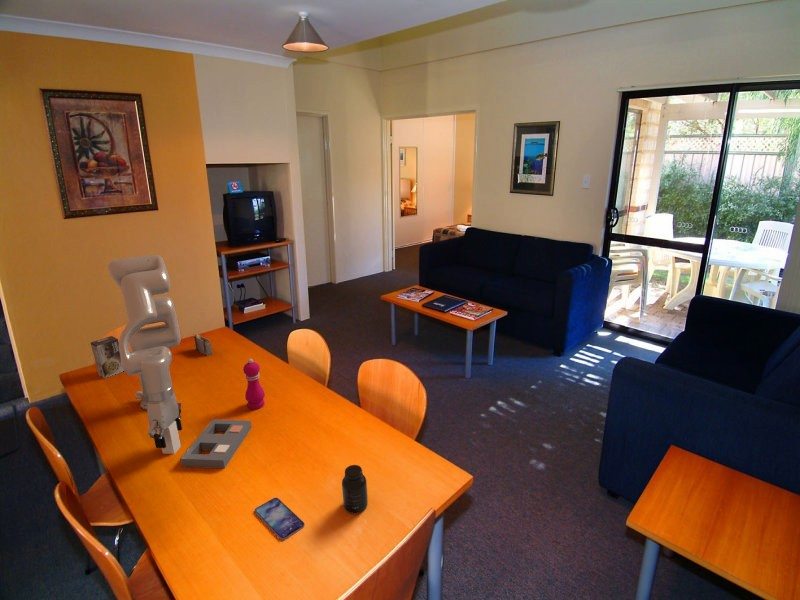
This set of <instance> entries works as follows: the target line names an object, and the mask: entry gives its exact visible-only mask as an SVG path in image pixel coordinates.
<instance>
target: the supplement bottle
mask: <svg viewBox="0 0 800 600" xmlns="http://www.w3.org/2000/svg"><path fill="white" fill-rule="evenodd" d="M341 488H342V489H341V490H342V503H343V508H344V510H345V511H346V512H348V513H350V514H359V513H360V514H361V513H362V512H364V511H365V510H366V509H367V507H368V504H369V503H368V501H369V499H368V483H367V478H366V476H365V475H364V473H363V468H362V467H361V465H357V464H351V465H348V466H347V467H346V468H345V469H344V476H343V478H342V479H341Z"/></svg>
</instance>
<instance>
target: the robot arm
mask: <svg viewBox="0 0 800 600" xmlns="http://www.w3.org/2000/svg"><path fill="white" fill-rule="evenodd" d="M107 270H108V272H109V275H110V276H111V278H112V280H113V281H114V282H115V283H116V285H117V286H118V287H119V289H120V290H121V292H122V297H123V301H124V305H125V309H126V314H127V315H126V316H127V318H128V321H127V324H126V325H125V327H124V328H123V329H122V331H121V333H120V336H119V339H118V342H119V352H120V357H121V362H122V366H123V369H124V373H125V374H126V375H128V376H137V375H138V376H139V382H140V387H141V391H140V390H137V391H136V392H135V399H139V400H141V401H140V408H141V409H143V410H146V411H147V419H148V420H147V421H148V426H149V429H148V431H147V435H148V436H149V438H152V439H153V440H154V445H155V448H156V449H162V448H166V443H165V438H164V437H163V433H164V430H165V429H166V428H167V427H168V426H169V425H170V424H171V423H172V422H173V421H176V425H177V430H178V432H179V431H182V430H183V425H182V420H181V418H182V415H181V414H182V413H181V412H182V409H181V408H182V403H181V402H178V400H177V395H176V394H175V392H174V389H173V388H174V387H173V383H172V378H171V372H170V366H171V363H172V361H173V354H172V351H171V350H170V349H172V348H175V347H178V346H179V345H180V343H181V339H182V337H181V336H182V335H181V331H180V326H179V321H178V316H177V311H176V307H175V304H174V301H173V299H172V298H171V297H169V296H159V297H154V296H156V295H157V296H158V295H163V294H167V293H169V292H170V291H171V288H172V287H171V286H172V285H171V277H170V275H169V271H168V267H167V265H166V263H165V260H164V259H163V257H162V256H161V255H158V254H150V255H149V254H147V255H142V256H132V257H130V256H129V257H124V258H117V259H113V260H111V261H109V263H108V265H107ZM158 323H164V324H158ZM153 324H157V325H153ZM148 325H151V326H148ZM145 326H146V327H145ZM129 347H130V348H129ZM130 349H131V351H130ZM158 426H159V427H160V428H158ZM158 430H160V434H159V433H158Z"/></svg>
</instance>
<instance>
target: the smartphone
mask: <svg viewBox="0 0 800 600" xmlns="http://www.w3.org/2000/svg"><path fill="white" fill-rule="evenodd" d="M254 513H255V515H257V517H258V518H259V519H260V520H261V521H262V522H263V523H264V524H265V525H266V526H267V528H269V530H270V531H271V532H273V534H274V535H275V536H276V537H277V538H278V539H279V540H280V541H285V540H288V539H290V538H291V536H293V535H295V534H296V533H298V532H299V531H301V530H302V529H304V528H305V524H306V523H305V522H304V521H303V520H302V518H300V517H299V516H298V515H297V514H296V513H295V512H293V510H292V509H290V508H289V507H288V506H287V505H286V504H285V503H284V502H283V501H282V500H281V499H280V498H279V497H273V498H271V499H269V500H268V501H265V502H264V503H262V504H260V505H259V506H257V507H256V508H255V509H254Z"/></svg>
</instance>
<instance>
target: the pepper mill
mask: <svg viewBox="0 0 800 600" xmlns="http://www.w3.org/2000/svg"><path fill="white" fill-rule="evenodd" d="M260 369H261V368H260V364H259V363H258V362H256V361H254V360H253V359H252V358H249V359H248V361H247V363H245V364H244V366H243V368H242V370H243V374H244V375H245V380H246V381H247V388H246V391H245V400H246V401H247V407H248V409H250V410H259V409H261V408H263V407H264V406H265V403H266V402H265V399H264V398H265V394H266V393H265V391H264V389H263V387H262V385H261V384H260V381H259V380H260V379H259V378H260Z"/></svg>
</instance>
